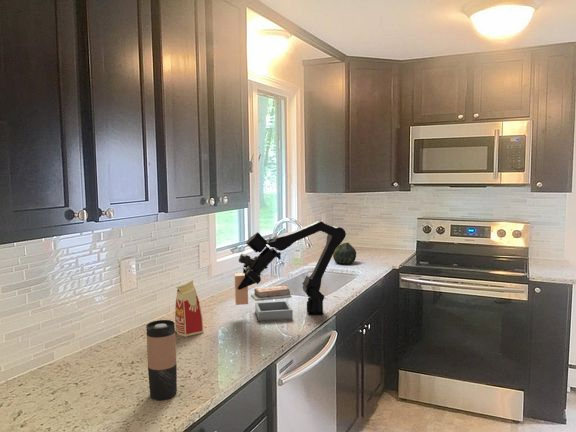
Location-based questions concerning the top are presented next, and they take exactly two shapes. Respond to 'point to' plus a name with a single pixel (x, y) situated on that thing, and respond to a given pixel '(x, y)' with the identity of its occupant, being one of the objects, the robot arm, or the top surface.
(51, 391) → the top surface
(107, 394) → the top surface
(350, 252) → the squash
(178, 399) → the top surface
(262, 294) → the packaged product
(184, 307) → the red food bag
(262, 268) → the robot arm
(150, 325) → the travel mug
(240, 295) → the peach block
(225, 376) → the top surface
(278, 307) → the tray
